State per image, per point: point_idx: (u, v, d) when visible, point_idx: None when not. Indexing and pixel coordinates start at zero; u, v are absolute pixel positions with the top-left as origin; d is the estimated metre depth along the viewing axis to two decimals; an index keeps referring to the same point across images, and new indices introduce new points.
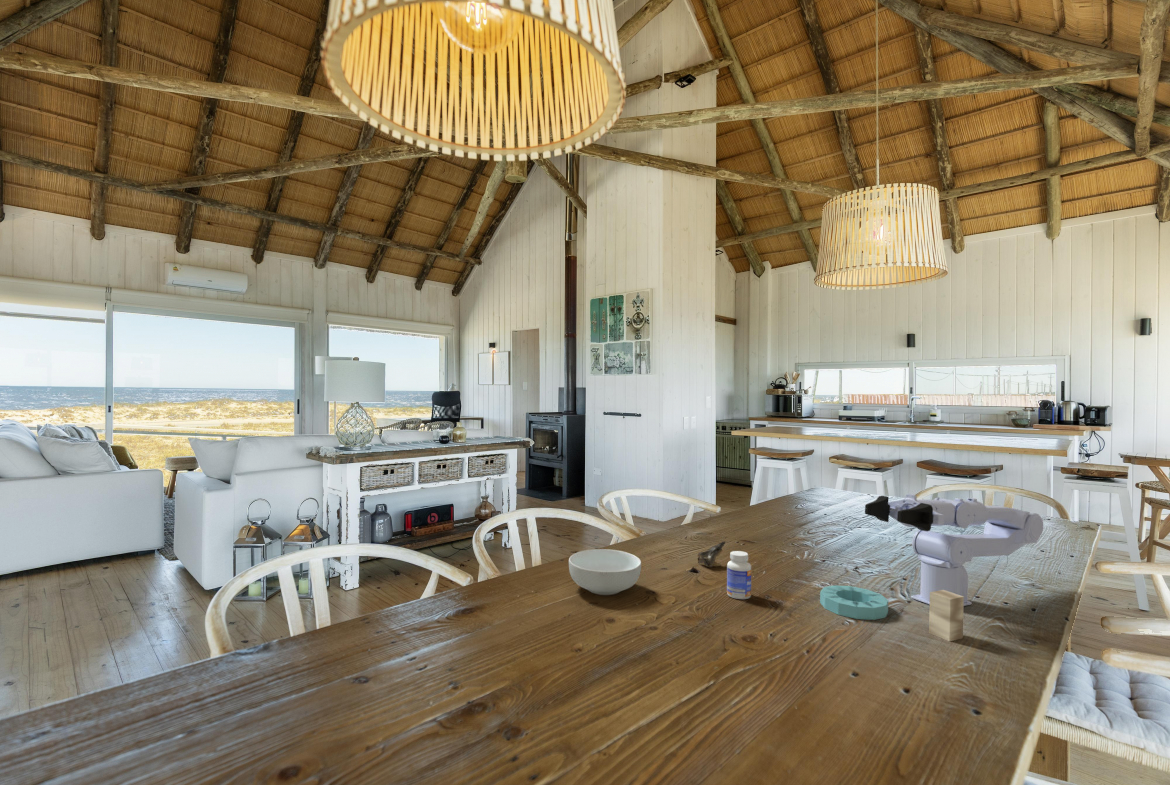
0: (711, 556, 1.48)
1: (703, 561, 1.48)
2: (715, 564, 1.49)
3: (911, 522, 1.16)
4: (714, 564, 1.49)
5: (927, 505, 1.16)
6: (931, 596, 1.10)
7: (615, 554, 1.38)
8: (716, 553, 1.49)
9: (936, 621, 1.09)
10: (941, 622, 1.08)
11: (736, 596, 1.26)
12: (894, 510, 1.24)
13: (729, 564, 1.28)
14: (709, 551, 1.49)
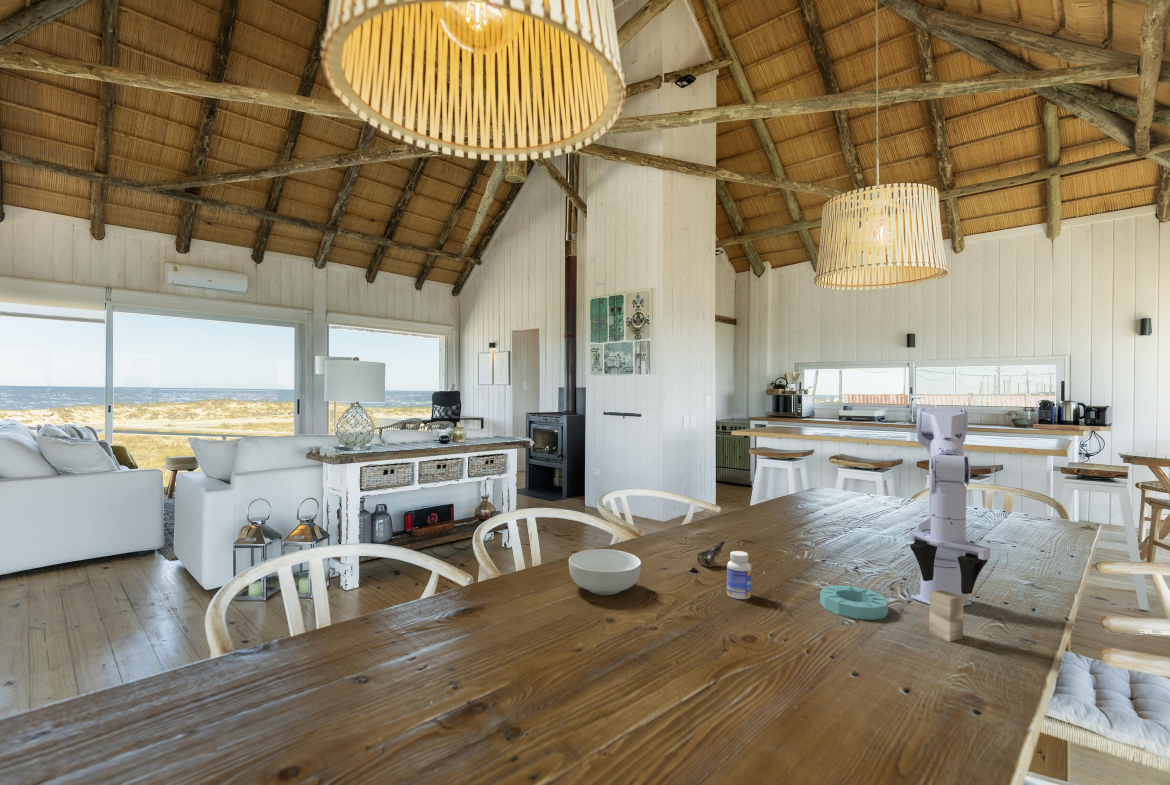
0: (711, 556, 1.48)
1: (703, 561, 1.48)
2: (715, 564, 1.49)
3: (974, 577, 1.05)
4: (714, 564, 1.49)
5: (967, 563, 1.03)
6: (931, 596, 1.10)
7: (615, 554, 1.38)
8: (716, 553, 1.49)
9: (936, 621, 1.09)
10: (941, 622, 1.08)
11: (736, 596, 1.26)
12: None
13: (729, 564, 1.28)
14: (709, 551, 1.49)
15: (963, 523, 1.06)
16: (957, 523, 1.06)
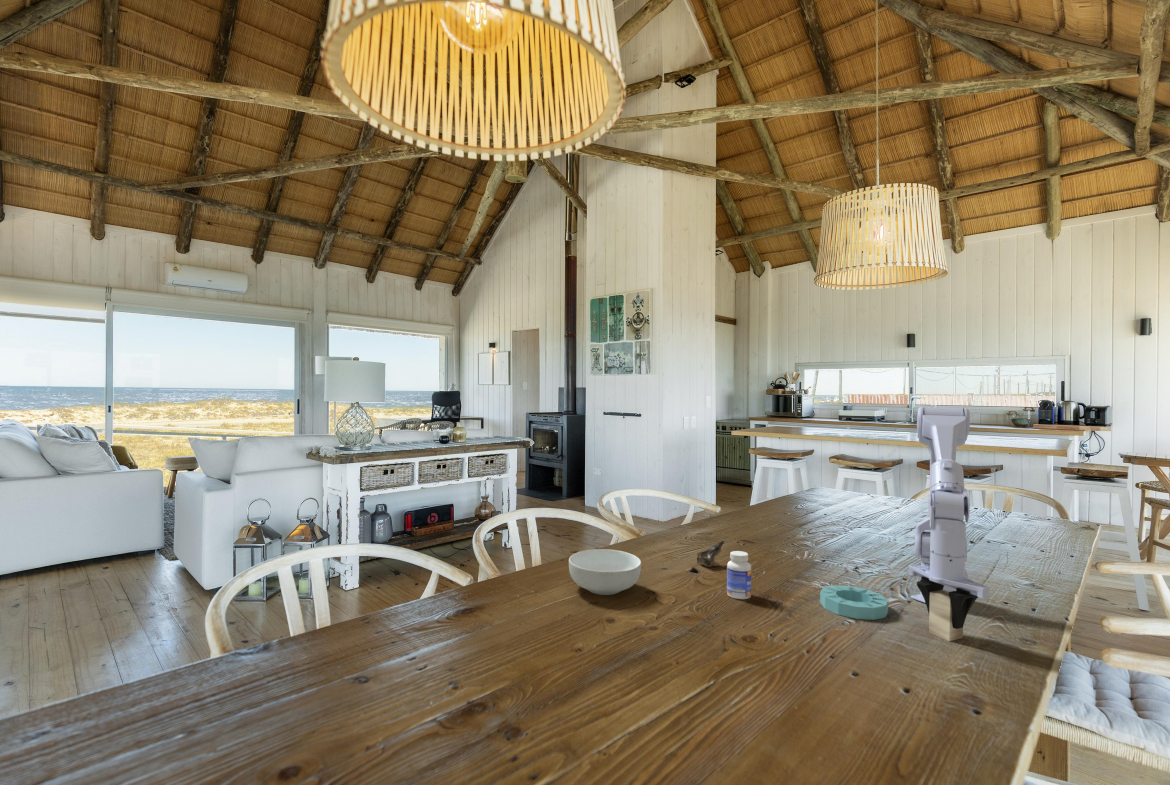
0: (711, 556, 1.48)
1: (703, 561, 1.49)
2: (714, 564, 1.49)
3: (965, 612, 1.07)
4: (713, 564, 1.49)
5: (958, 599, 1.04)
6: (931, 596, 1.10)
7: (615, 554, 1.38)
8: (715, 552, 1.50)
9: (936, 621, 1.09)
10: (941, 622, 1.08)
11: (736, 596, 1.26)
12: None
13: (729, 564, 1.28)
14: (708, 551, 1.50)
15: (962, 561, 1.06)
16: (956, 560, 1.06)
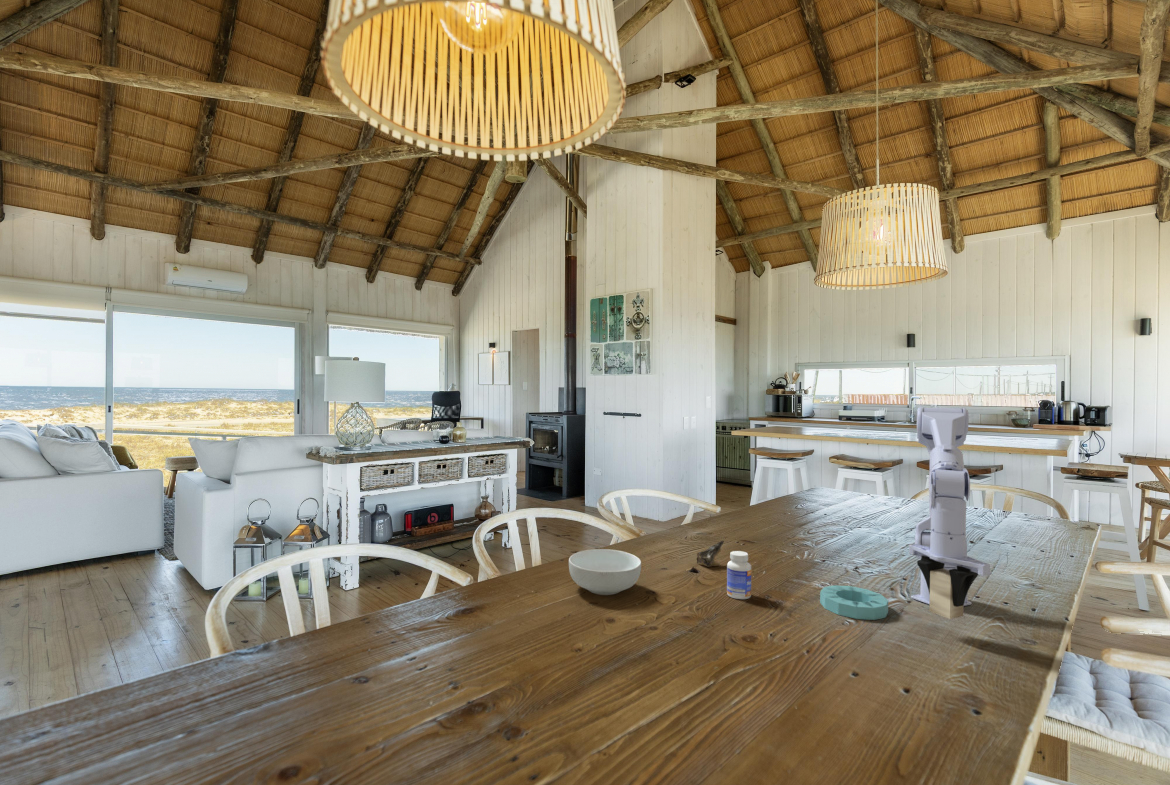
0: (710, 556, 1.48)
1: (702, 561, 1.49)
2: (714, 563, 1.49)
3: (965, 589, 1.07)
4: (713, 563, 1.49)
5: (958, 576, 1.04)
6: (931, 574, 1.10)
7: (615, 554, 1.38)
8: (715, 552, 1.50)
9: (936, 599, 1.09)
10: (942, 600, 1.08)
11: (736, 596, 1.26)
12: None
13: (729, 564, 1.28)
14: (708, 551, 1.50)
15: (962, 539, 1.06)
16: (957, 538, 1.06)
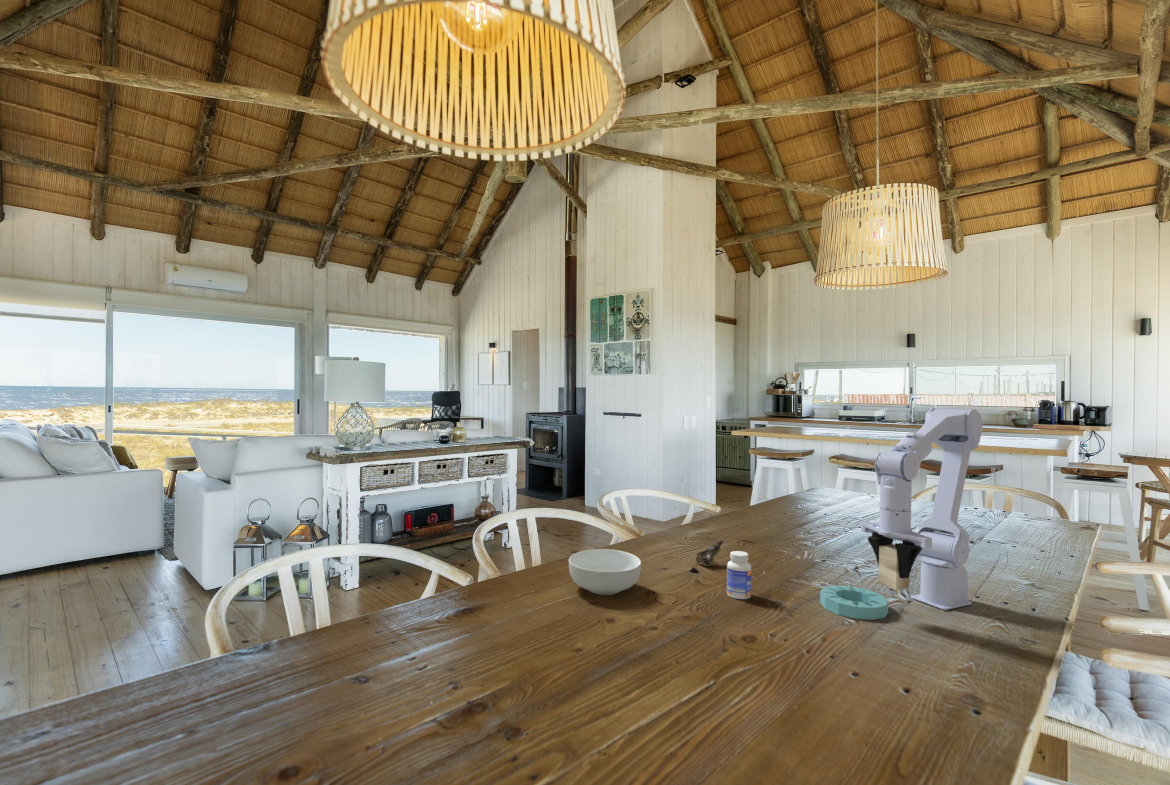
0: (710, 555, 1.48)
1: (702, 561, 1.49)
2: (714, 563, 1.50)
3: (911, 563, 1.14)
4: (713, 563, 1.50)
5: (903, 549, 1.12)
6: (880, 549, 1.17)
7: (615, 554, 1.38)
8: (715, 552, 1.50)
9: (885, 572, 1.16)
10: (889, 573, 1.15)
11: (736, 596, 1.26)
12: None
13: (729, 564, 1.28)
14: (708, 550, 1.50)
15: (908, 515, 1.14)
16: (902, 514, 1.13)
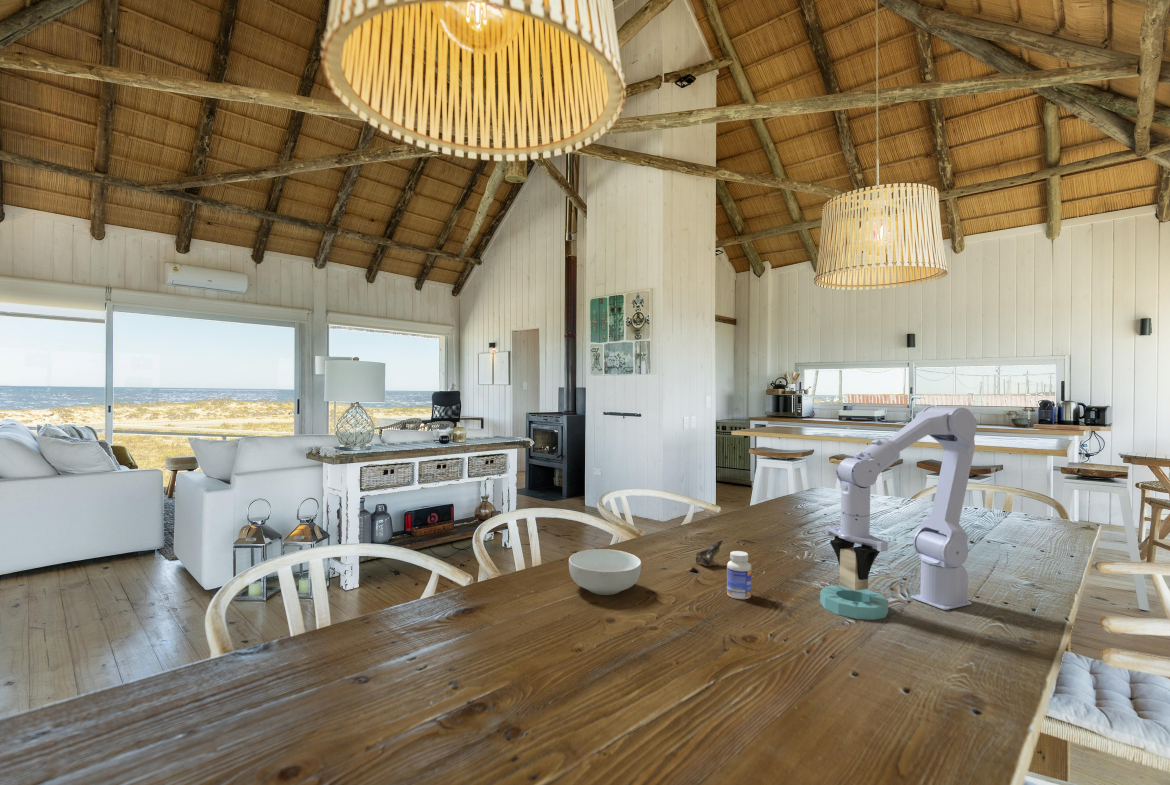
0: (710, 555, 1.49)
1: (702, 560, 1.49)
2: (713, 563, 1.50)
3: (869, 565, 1.20)
4: (712, 563, 1.50)
5: (861, 552, 1.18)
6: (841, 552, 1.23)
7: (615, 554, 1.38)
8: (714, 552, 1.50)
9: (845, 574, 1.22)
10: (849, 575, 1.21)
11: (736, 596, 1.26)
12: None
13: (729, 564, 1.28)
14: (707, 550, 1.50)
15: (866, 520, 1.20)
16: (861, 519, 1.20)
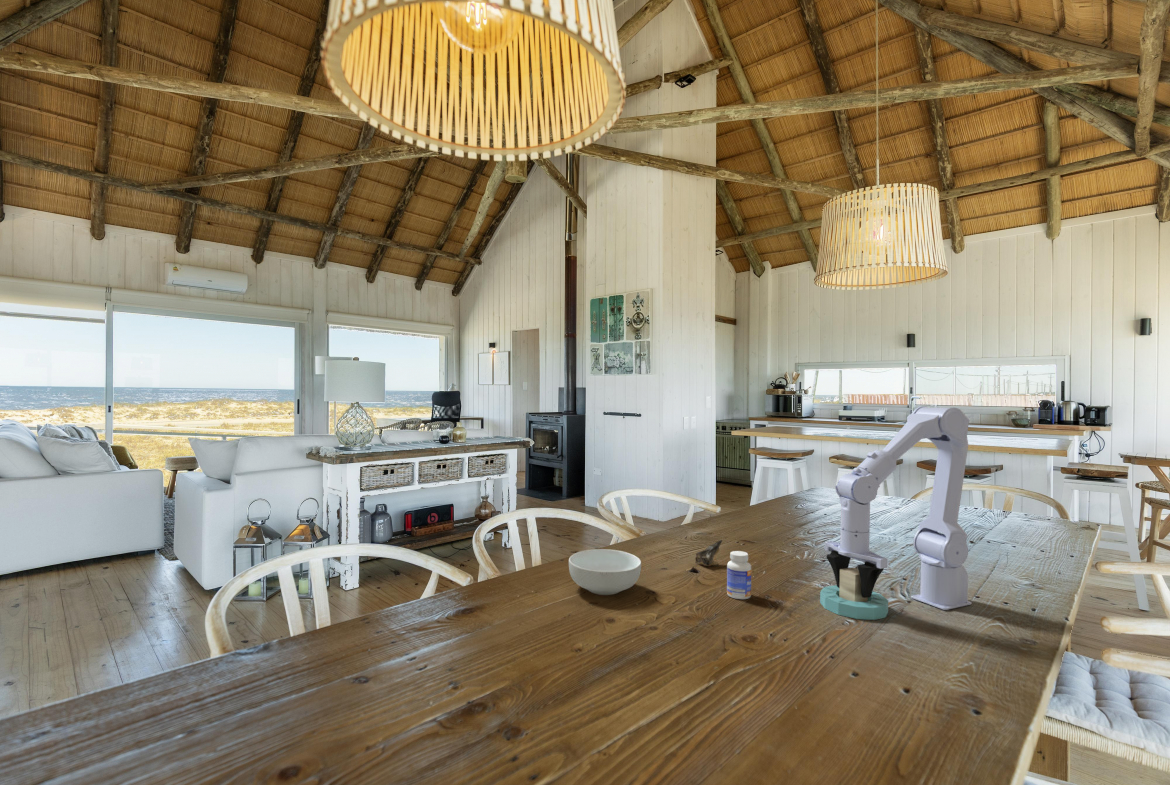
0: (709, 555, 1.49)
1: (702, 560, 1.49)
2: (713, 563, 1.50)
3: (873, 582, 1.19)
4: (712, 563, 1.50)
5: (864, 570, 1.17)
6: (841, 572, 1.23)
7: (615, 554, 1.38)
8: (714, 552, 1.50)
9: (844, 595, 1.22)
10: (848, 595, 1.21)
11: (736, 596, 1.26)
12: None
13: (729, 564, 1.28)
14: (707, 550, 1.50)
15: (866, 536, 1.20)
16: (861, 536, 1.20)
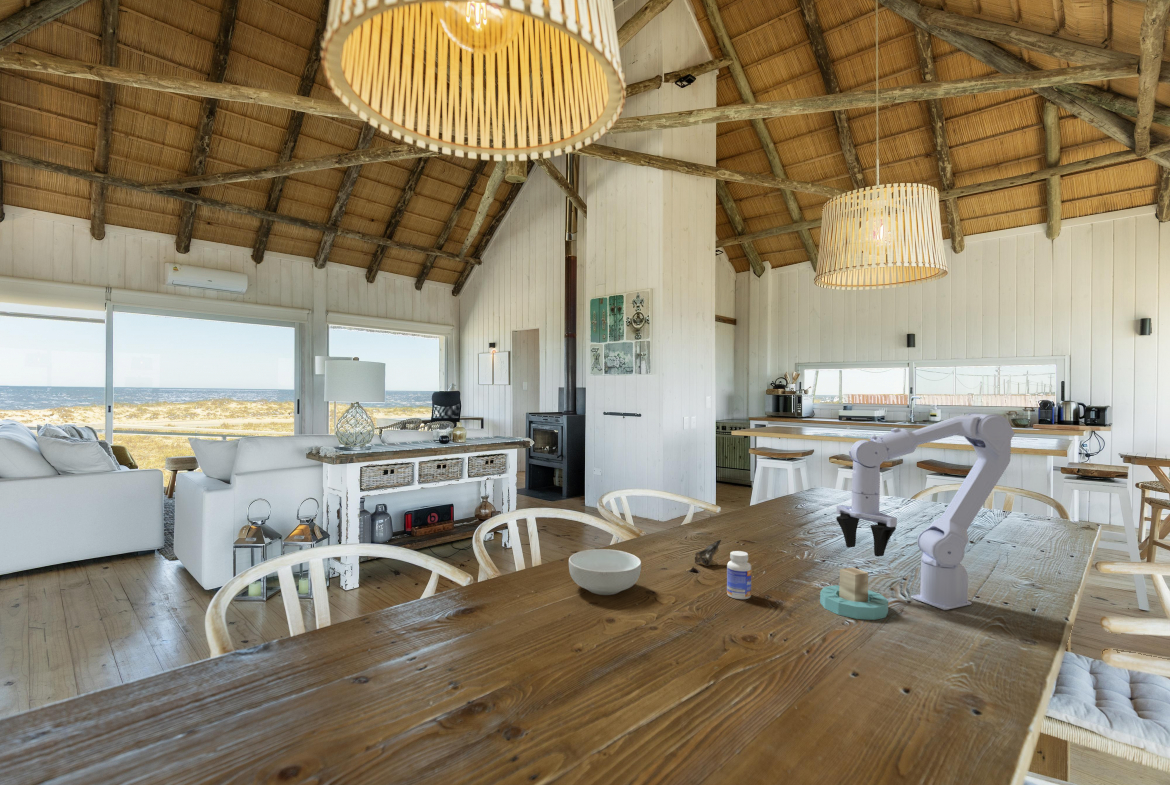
0: (709, 555, 1.49)
1: (701, 560, 1.49)
2: (712, 563, 1.50)
3: (885, 542, 1.26)
4: (711, 563, 1.50)
5: (878, 530, 1.23)
6: (841, 573, 1.23)
7: (615, 554, 1.38)
8: (713, 551, 1.50)
9: (844, 595, 1.22)
10: (848, 596, 1.21)
11: (736, 596, 1.26)
12: None
13: (729, 564, 1.28)
14: (706, 550, 1.50)
15: (876, 498, 1.27)
16: (871, 497, 1.26)
